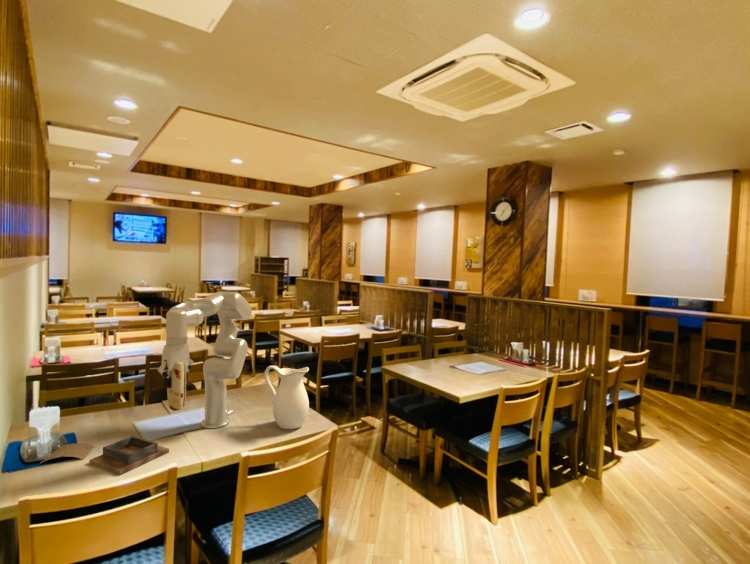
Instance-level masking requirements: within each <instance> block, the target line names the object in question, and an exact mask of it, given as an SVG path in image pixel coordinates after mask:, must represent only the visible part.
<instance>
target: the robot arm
mask: <svg viewBox="0 0 750 564" xmlns="http://www.w3.org/2000/svg"><path fill="white" fill-rule="evenodd" d="M252 311H253V309H252V306H251V305H250V303H249V301H247V300H246V298H245V297H244V296H243V295H242V294H240V293H239V292H236V291H216V292H214V293H212V294H210V295H208V296H206V297H204V298H199V299H194V300H190V301H185V302H181V303H179V304H176V305H174V306H172V307H171V308H169V310H168V311H167V312H166V317H165V319H166V322H165V324H166V325H165V326H166V327H165V329H166V330H165V336H166V337H165V345H164V346H163V350H162V353H161V365H160V366H159V367H158V368H157V373H159V374H160V375H161V376H162V378H163V387H164V388H166V389H167V388H171V378H170V376H171V373H172V371H173V370H174V365H175V363H176V362H180V363H181V362H183V364H185V363H186V369H187V370H186V384H187V383H188V382H189V373H190V370H191V368H192V366H193V364H194V362H195V361H194V360H193V359H191V358H190V357H191V356H190V349H189V343H188V339H189V336H188V327H197V326H199V325H200V324H202V323H203V321H204V319H205V318H206V317H211V316H213V315H215V314H216V313H217V316H218V319H219V326H220V328H219V331H218V334H217V337H216V340H215V342H214V345H213V346H214V347H213V349H212V350H213V351H212V352H213V354H214V356H217V357H211V358H208V359H206V360H205V361H204V362H203V365H202V372H203V373H202V374H203V378H204V419H203V420H202V421H201V422H200V426H201V427H202V428H204V429H219V428H223V427H225V426H227V425H229V423H230V418H229V416H230V415H232V414H234V410H232V409H230V410H227V384H226V381H225V380H236V379H238V378H239V377H240V375H241V373H242V371H243V367H244V365H245V360H246V358H247V357H246V356H247V354H248V349H249V348H248V342H247V341H246V340H245V339H244V338H241V337H237V336H238V331H239V329H238V326H237V324H236V322H235V321H234V320H237V321H239V320H240V321H241V320H242V321H245V320H248V319H250V318H251V316H252Z"/></svg>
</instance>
